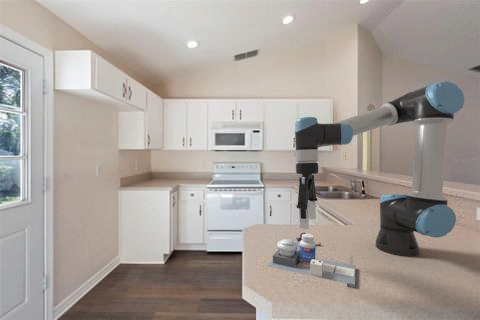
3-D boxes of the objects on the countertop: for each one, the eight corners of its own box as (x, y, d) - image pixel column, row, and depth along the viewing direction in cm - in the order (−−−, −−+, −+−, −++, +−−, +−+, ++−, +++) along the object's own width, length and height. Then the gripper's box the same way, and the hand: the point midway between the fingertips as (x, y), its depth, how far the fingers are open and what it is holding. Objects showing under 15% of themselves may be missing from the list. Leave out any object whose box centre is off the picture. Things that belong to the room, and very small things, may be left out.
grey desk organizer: (355, 268, 80) (355, 254, 80) (354, 288, 68) (354, 271, 68) (279, 254, 93) (279, 242, 93) (267, 268, 80) (267, 255, 80)
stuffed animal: (326, 246, 99) (306, 232, 96) (315, 267, 97) (294, 253, 94) (310, 237, 110) (291, 224, 107) (299, 256, 108) (280, 243, 105)
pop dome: (299, 254, 86) (299, 240, 86) (294, 261, 80) (294, 246, 80) (280, 251, 89) (280, 237, 89) (274, 257, 83) (274, 242, 83)
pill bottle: (302, 267, 78) (302, 238, 79) (297, 260, 84) (297, 233, 84) (318, 266, 79) (318, 237, 79) (311, 260, 84) (311, 232, 84)
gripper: (303, 162, 94) (304, 214, 94) (286, 163, 72) (287, 231, 72) (323, 161, 91) (324, 216, 91) (311, 162, 69) (313, 234, 69)
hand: (308, 223), depth 81 cm, fingers open, 13 cm apart
